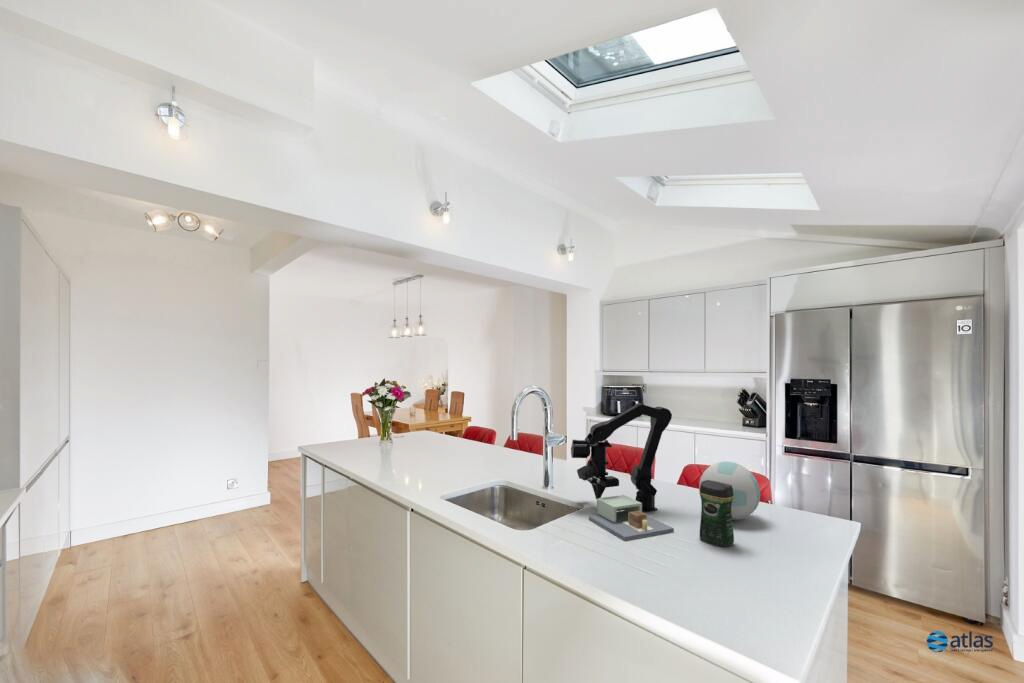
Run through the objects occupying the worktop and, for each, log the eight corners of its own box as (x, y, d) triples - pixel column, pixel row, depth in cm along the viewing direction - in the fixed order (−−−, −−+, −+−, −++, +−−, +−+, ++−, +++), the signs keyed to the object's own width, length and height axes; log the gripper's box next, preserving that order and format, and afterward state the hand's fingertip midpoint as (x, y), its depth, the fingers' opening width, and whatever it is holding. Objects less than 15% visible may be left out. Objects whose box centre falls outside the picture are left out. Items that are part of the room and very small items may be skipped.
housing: (617, 505, 172) (617, 491, 172) (641, 517, 159) (642, 503, 159) (590, 509, 167) (590, 495, 167) (613, 522, 154) (613, 507, 154)
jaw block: (638, 522, 154) (638, 510, 154) (646, 526, 151) (646, 514, 151) (629, 524, 153) (629, 512, 153) (636, 528, 149) (637, 516, 149)
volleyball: (754, 532, 151) (754, 472, 152) (692, 519, 163) (692, 462, 164) (764, 516, 167) (764, 461, 167) (706, 505, 179) (707, 454, 180)
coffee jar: (737, 543, 142) (737, 483, 143) (725, 549, 137) (726, 487, 137) (707, 533, 149) (708, 476, 150) (695, 539, 144) (695, 480, 145)
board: (634, 512, 169) (634, 501, 169) (673, 531, 150) (673, 519, 150) (588, 519, 160) (588, 507, 160) (624, 540, 142) (624, 527, 142)
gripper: (567, 454, 179) (566, 494, 178) (594, 465, 161) (594, 509, 161) (591, 452, 183) (590, 491, 183) (620, 463, 166) (619, 506, 165)
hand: (597, 499), depth 173 cm, fingers closed
